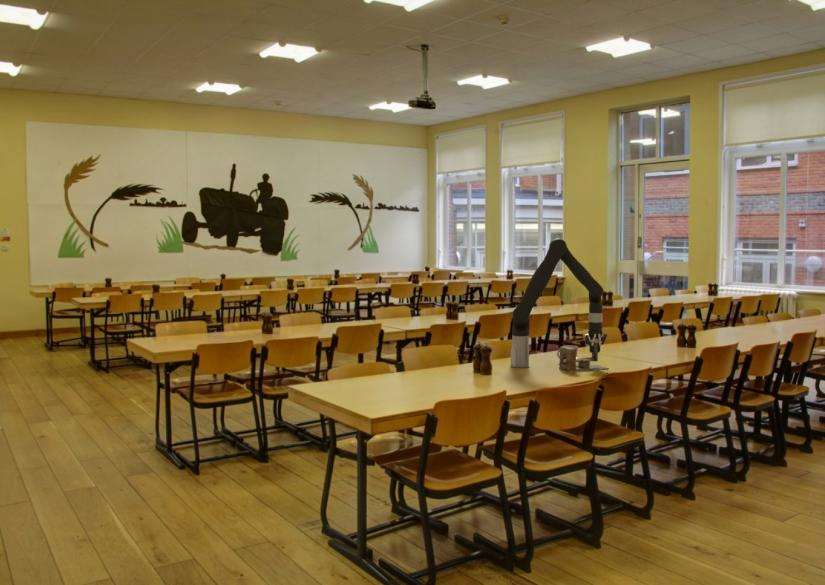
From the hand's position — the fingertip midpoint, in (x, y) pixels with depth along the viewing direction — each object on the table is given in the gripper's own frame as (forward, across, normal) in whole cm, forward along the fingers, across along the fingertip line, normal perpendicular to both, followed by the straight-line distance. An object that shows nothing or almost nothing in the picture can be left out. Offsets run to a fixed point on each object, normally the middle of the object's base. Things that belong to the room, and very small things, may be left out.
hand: (594, 352), depth 393 cm
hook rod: (+5, -9, 0) cm, 10 cm away
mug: (+9, -7, +18) cm, 21 cm away
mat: (+9, -7, 0) cm, 11 cm away
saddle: (+9, -7, 0) cm, 11 cm away
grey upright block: (+9, -17, 0) cm, 19 cm away
